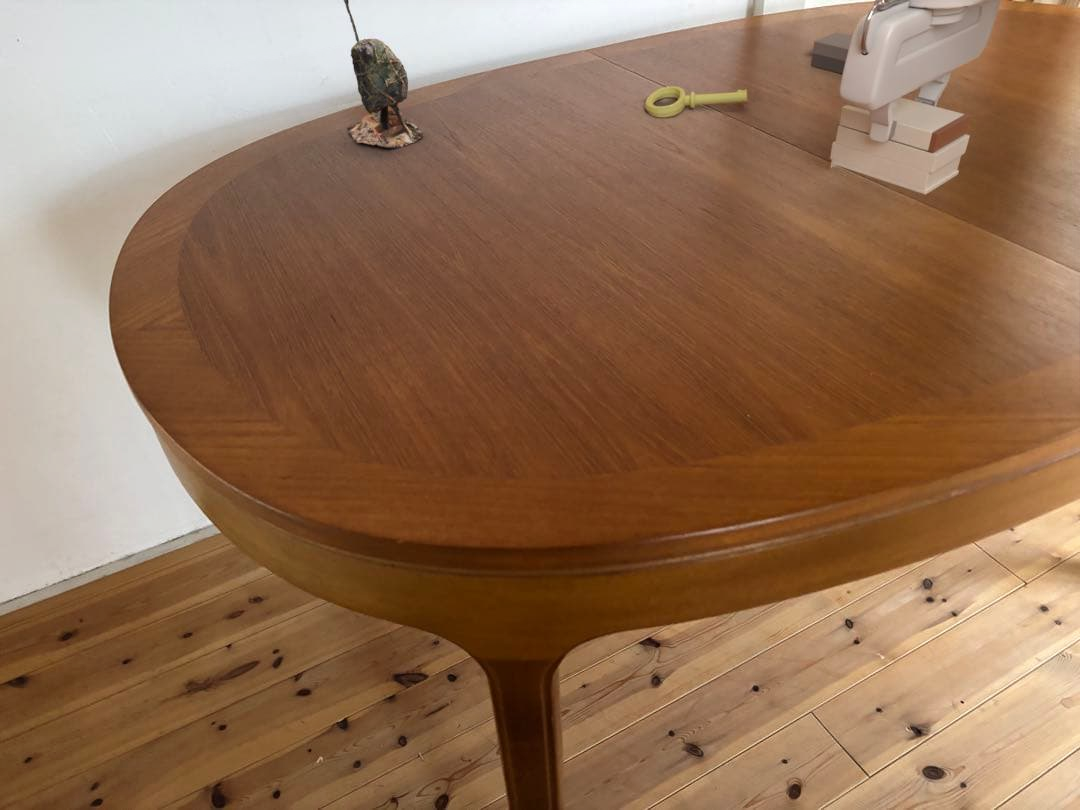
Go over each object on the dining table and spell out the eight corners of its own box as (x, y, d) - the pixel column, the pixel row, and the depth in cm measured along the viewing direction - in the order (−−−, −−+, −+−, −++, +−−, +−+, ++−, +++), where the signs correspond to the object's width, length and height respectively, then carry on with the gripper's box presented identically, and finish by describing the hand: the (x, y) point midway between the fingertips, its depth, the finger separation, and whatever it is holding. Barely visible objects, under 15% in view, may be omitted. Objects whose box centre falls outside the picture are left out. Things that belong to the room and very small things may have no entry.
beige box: (955, 187, 88) (970, 135, 85) (923, 208, 85) (936, 155, 82) (860, 157, 95) (870, 107, 91) (826, 175, 92) (835, 124, 88)
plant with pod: (366, 164, 99) (332, -29, 86) (343, 129, 107) (308, -52, 95) (435, 150, 101) (412, -41, 89) (407, 117, 109) (382, -62, 97)
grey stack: (914, 76, 112) (919, 50, 110) (892, 87, 110) (897, 60, 108) (832, 56, 120) (836, 31, 118) (810, 65, 117) (814, 40, 115)
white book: (966, 134, 85) (971, 115, 84) (933, 153, 82) (938, 134, 81) (872, 108, 91) (876, 90, 90) (838, 125, 88) (841, 106, 87)
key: (751, 111, 106) (753, 93, 104) (649, 119, 105) (650, 102, 104) (735, 90, 111) (737, 73, 110) (639, 98, 111) (639, 81, 110)
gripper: (904, 7, 71) (871, 170, 79) (1025, -43, 81) (984, 107, 90) (836, -6, 74) (811, 151, 83) (960, -53, 85) (926, 92, 93)
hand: (901, 127), depth 86 cm, fingers closed on white book, 6 cm apart
